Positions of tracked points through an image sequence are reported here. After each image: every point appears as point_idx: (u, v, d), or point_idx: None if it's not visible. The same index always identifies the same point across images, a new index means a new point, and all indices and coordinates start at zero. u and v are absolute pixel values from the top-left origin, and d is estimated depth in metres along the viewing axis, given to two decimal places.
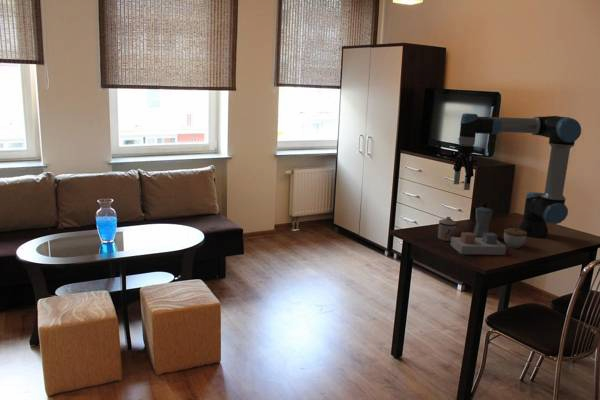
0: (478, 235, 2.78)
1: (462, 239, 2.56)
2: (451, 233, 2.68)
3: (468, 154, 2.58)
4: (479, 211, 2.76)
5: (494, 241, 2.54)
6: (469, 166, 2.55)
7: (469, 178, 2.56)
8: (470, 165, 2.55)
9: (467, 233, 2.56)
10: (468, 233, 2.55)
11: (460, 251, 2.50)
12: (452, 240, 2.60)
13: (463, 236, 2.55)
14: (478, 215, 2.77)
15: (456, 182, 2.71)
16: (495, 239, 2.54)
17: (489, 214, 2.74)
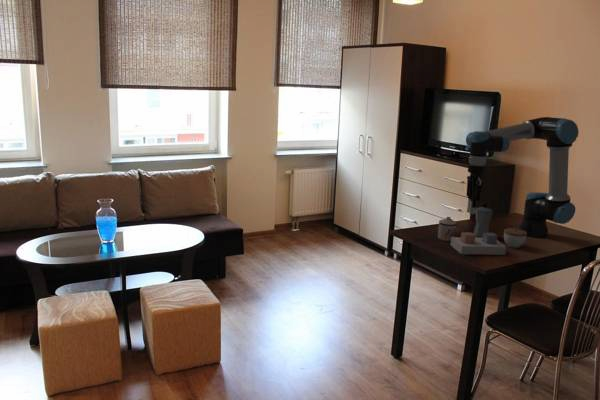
0: (478, 235, 2.78)
1: (462, 239, 2.56)
2: (451, 233, 2.68)
3: (479, 174, 2.44)
4: (479, 211, 2.76)
5: (494, 241, 2.54)
6: (477, 191, 2.45)
7: (475, 202, 2.48)
8: (478, 190, 2.45)
9: (467, 233, 2.56)
10: (468, 233, 2.55)
11: (460, 251, 2.50)
12: (452, 240, 2.60)
13: (463, 236, 2.55)
14: (478, 215, 2.77)
15: (469, 210, 2.53)
16: (495, 239, 2.54)
17: (489, 214, 2.74)
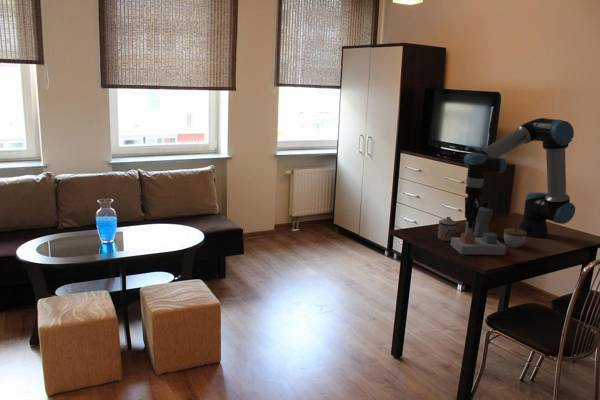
0: (478, 235, 2.78)
1: (462, 239, 2.56)
2: (451, 233, 2.68)
3: (476, 196, 2.47)
4: (479, 211, 2.76)
5: (494, 241, 2.54)
6: (474, 212, 2.48)
7: (471, 223, 2.52)
8: (475, 212, 2.47)
9: None
10: (468, 234, 2.55)
11: (460, 251, 2.50)
12: (452, 240, 2.60)
13: (463, 236, 2.55)
14: (478, 215, 2.77)
15: None
16: (495, 239, 2.54)
17: (489, 214, 2.74)
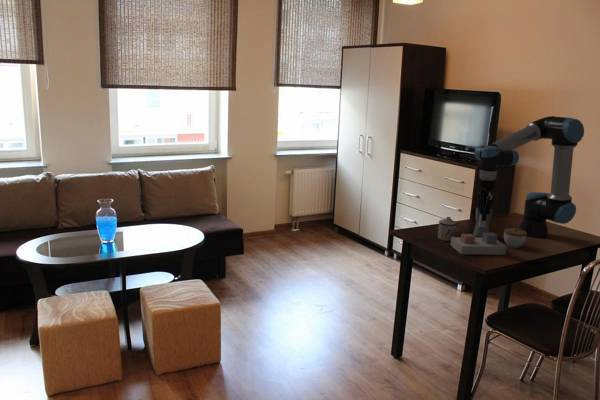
0: (478, 235, 2.78)
1: (462, 240, 2.56)
2: (451, 233, 2.68)
3: (490, 189, 2.47)
4: None
5: (494, 241, 2.54)
6: (487, 205, 2.48)
7: (485, 215, 2.52)
8: (489, 204, 2.47)
9: (467, 234, 2.56)
10: (468, 235, 2.55)
11: (460, 251, 2.50)
12: (452, 240, 2.60)
13: (463, 237, 2.55)
14: (478, 215, 2.77)
15: None
16: (495, 239, 2.54)
17: (489, 214, 2.74)
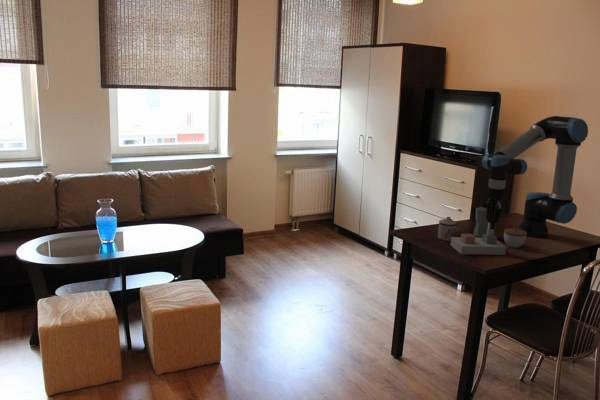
0: (478, 235, 2.78)
1: (462, 240, 2.56)
2: (451, 233, 2.68)
3: (499, 198, 2.48)
4: (479, 211, 2.76)
5: (494, 243, 2.54)
6: (496, 214, 2.49)
7: (493, 224, 2.53)
8: (497, 213, 2.49)
9: (467, 234, 2.56)
10: (468, 235, 2.55)
11: (460, 251, 2.50)
12: (452, 240, 2.60)
13: (463, 237, 2.55)
14: (478, 215, 2.77)
15: None
16: (495, 240, 2.54)
17: None
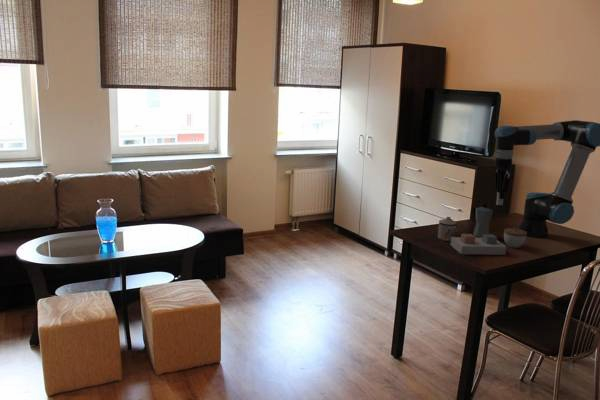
0: (478, 235, 2.78)
1: (462, 240, 2.56)
2: (451, 233, 2.68)
3: (507, 167, 2.54)
4: (479, 211, 2.76)
5: (494, 243, 2.54)
6: (505, 183, 2.55)
7: (502, 193, 2.59)
8: (506, 182, 2.55)
9: (467, 234, 2.56)
10: (468, 235, 2.55)
11: (460, 251, 2.50)
12: (452, 240, 2.60)
13: (463, 237, 2.55)
14: (478, 215, 2.77)
15: None
16: (495, 241, 2.54)
17: (489, 214, 2.74)
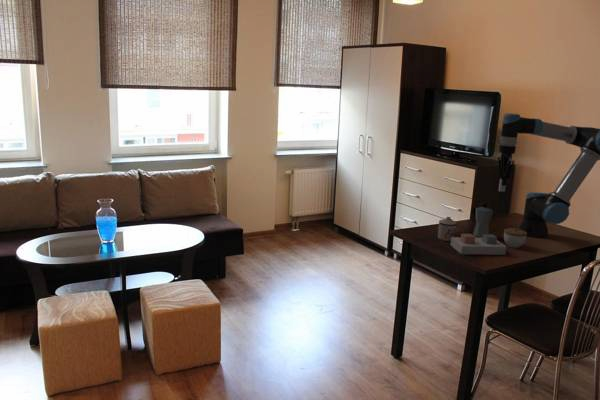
0: (478, 235, 2.78)
1: (462, 240, 2.56)
2: (451, 233, 2.68)
3: (510, 154, 2.59)
4: (479, 211, 2.76)
5: (494, 243, 2.54)
6: (508, 170, 2.60)
7: (505, 180, 2.64)
8: (509, 169, 2.60)
9: (467, 234, 2.56)
10: (468, 235, 2.55)
11: (460, 251, 2.50)
12: (452, 240, 2.60)
13: (463, 237, 2.55)
14: (478, 215, 2.77)
15: None
16: (495, 241, 2.54)
17: (489, 214, 2.74)
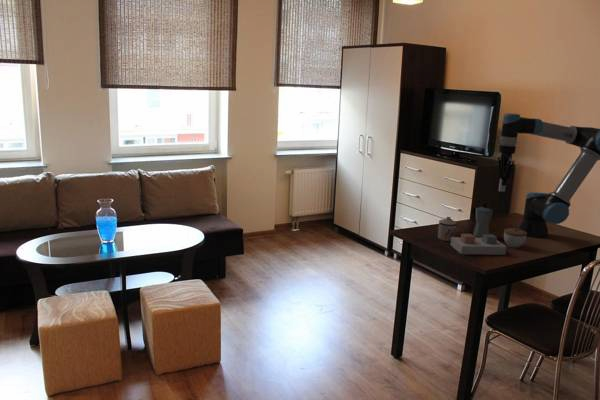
0: (478, 235, 2.78)
1: (462, 240, 2.56)
2: (451, 233, 2.68)
3: (510, 154, 2.59)
4: (479, 211, 2.76)
5: (494, 243, 2.54)
6: (508, 170, 2.60)
7: (505, 180, 2.64)
8: (509, 169, 2.60)
9: (467, 234, 2.56)
10: (468, 235, 2.55)
11: (460, 251, 2.50)
12: (452, 240, 2.60)
13: (463, 237, 2.55)
14: (478, 215, 2.77)
15: None
16: (495, 241, 2.54)
17: (489, 214, 2.74)
